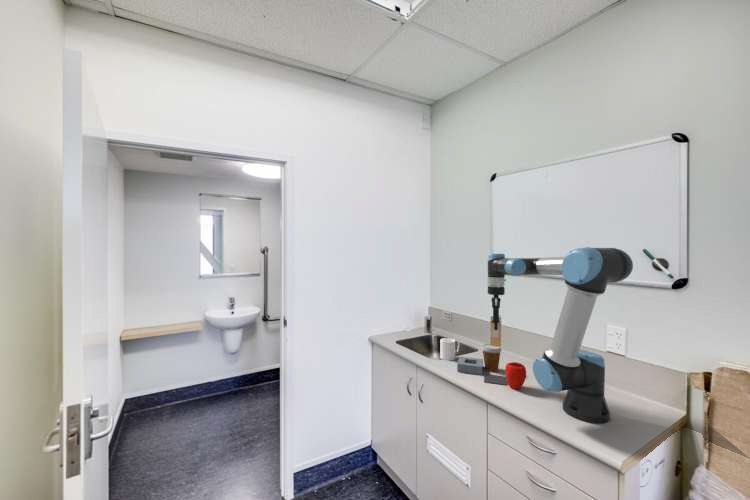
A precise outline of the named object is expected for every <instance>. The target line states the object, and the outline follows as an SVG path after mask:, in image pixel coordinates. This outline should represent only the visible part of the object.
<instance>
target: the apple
mask: <svg viewBox="0 0 750 500" xmlns="http://www.w3.org/2000/svg"><path fill="white" fill-rule="evenodd" d="M504 370H505V372H504V374H505V375H504V376H505V377H506V379H507V386H509V387H510V388H511V389H521V388H522V387H523V385H524V383H525V382H526V381H525V380H526V378H527V369H526V367H525V365H523V363H521V362H513V361H512V362H508V363H506V365H505V369H504Z"/></svg>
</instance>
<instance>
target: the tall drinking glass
mask: <svg viewBox="0 0 750 500" xmlns="http://www.w3.org/2000/svg"><path fill="white" fill-rule="evenodd" d="M491 321H493V313H491V314H490V343H489V344H490V346H497V347H501V348H502V315H501V314H499V337H493V323H491Z"/></svg>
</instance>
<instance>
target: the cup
mask: <svg viewBox="0 0 750 500" xmlns="http://www.w3.org/2000/svg"><path fill="white" fill-rule="evenodd" d="M456 341H457V350H456ZM439 343H440V344H439V345H440V348H439V349H440V353H439V355H440V356H439V357H440V359H441V360H445V361H454V360H456V353H459V350H460V346H461V345H460V340H459V339H458V338H450V337H447V338H446V337H445V338H444V337H443V338H440V341H439Z"/></svg>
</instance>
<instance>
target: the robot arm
mask: <svg viewBox="0 0 750 500" xmlns="http://www.w3.org/2000/svg"><path fill="white" fill-rule="evenodd" d="M487 256H488V257H487V285H488V286H487V294H488V295H492V296H493V297H491V307H492V309H493V310H492V314H493V321H491V320H490V324H491V323H493V337H499V315H500V308H501V307H500V306H501V298H500V297H499V296H504V295H505V294H506V293H505V292H506V291H505V289H506V288H505V282H507V279H506V277H505V275H506V276H512V277H520V276H562V277H563V278H564V284H565V286H566V287H567V291H566V294H565V297H564V300H563V304H562V307H561V311H560V314H559V317H558V320H557V324H556V327H555V331H554V334H553V338H552V340H551V344H550V345H549V346H547V347H545V348H544V350H543V354H542V357H538V358H536V359H534V361H533V363H532V373H533V376H534V378H535V381H536V382H537V383H538V385H539V387H541V389H544V390H545V391H547V392H550V393H551V392H553V393H554V392H558V393H559V392H564V391H566V393H565V395H564V397H563V399H562V410H563V411H564V412H565V413H566V414H567V415H569V416H571V417H573V418H575V419H578V420H580V421H584V422H587V423H593V424H605V423H608V422H610V420H611V411H610V408H609V406H608V403H607V400H606V396H605V382H606V379H605V378H606V377H605V376H606V375H605V374H606V373H605V372H606V366H605V365H606V364H605V359H604V357H603V356H601V355H600V354H598V353H594V352H591V351H588V350H582V349H581V345H582V343H583V340H584V337H585V335H586V332H587V329H588V326H589V322H590V318H591V317H592V315H593V314H592V313H593V312H594V311H593V310H594V307H595V304H596V301H597V299H598V296H601V295H604V294H605V291H606V289H607V285H608V284H609V283H610V284H613V283H617V282H618V283H619V282H621V281H622V282H623V281H624V280H625V279H627V278H628V277H629V276H630V275H631V274H632V272H633V269H634V263H633V260H632V258H631V256H630V255H629V254H628V253H627V252H626V251H624V250H622V249H620V248H619V249H618V248H616V247H589V246H588V247H587V246H586V247H579V248H574V249H572V250H570V251H568V252H567V254H565V255H564V256H553V257H535V258H534V257H530V258H528V257H527V258H525V257H523V258H522V257H521V258H517V257H515V258H514V257H512V258H511V257H509V258H508V257H506V256H505V254H504V253H489V254H488V255H487Z"/></svg>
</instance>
